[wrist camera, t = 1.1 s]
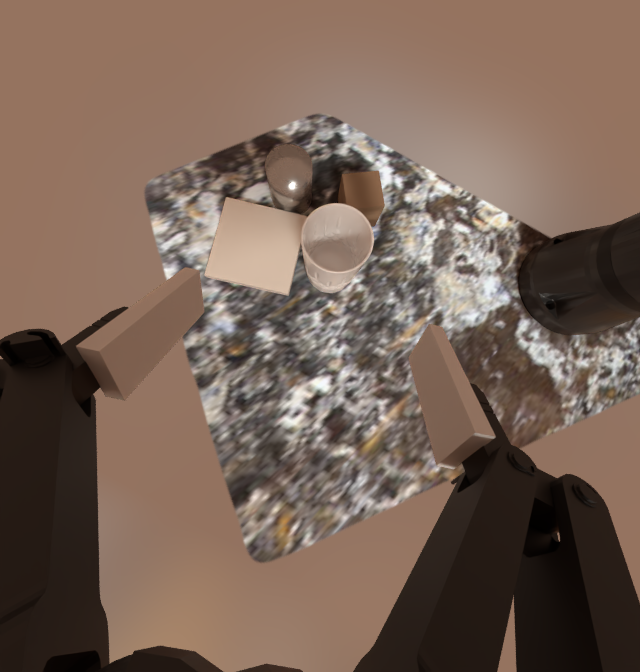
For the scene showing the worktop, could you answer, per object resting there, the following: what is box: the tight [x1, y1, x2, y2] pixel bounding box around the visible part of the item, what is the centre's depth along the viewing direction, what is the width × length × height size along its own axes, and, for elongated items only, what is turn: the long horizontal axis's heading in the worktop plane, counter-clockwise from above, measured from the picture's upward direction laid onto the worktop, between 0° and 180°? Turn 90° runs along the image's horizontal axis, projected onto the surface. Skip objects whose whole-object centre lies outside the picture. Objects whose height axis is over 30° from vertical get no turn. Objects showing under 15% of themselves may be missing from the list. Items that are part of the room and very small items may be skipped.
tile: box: [205, 197, 307, 296], centre depth 35 cm, size 12×12×1 cm
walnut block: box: [338, 171, 385, 227], centre depth 34 cm, size 5×5×5 cm
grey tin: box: [265, 144, 312, 214], centre depth 34 cm, size 6×6×6 cm
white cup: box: [301, 203, 374, 293], centre depth 31 cm, size 8×8×10 cm
